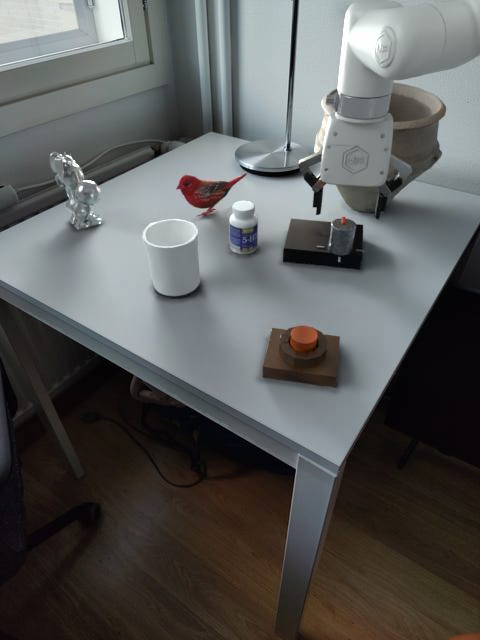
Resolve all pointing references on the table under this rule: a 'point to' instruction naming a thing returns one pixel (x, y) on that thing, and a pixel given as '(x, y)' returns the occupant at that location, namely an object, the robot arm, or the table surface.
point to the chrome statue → (76, 190)
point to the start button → (303, 339)
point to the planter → (398, 140)
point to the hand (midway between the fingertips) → (347, 213)
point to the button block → (302, 359)
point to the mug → (173, 257)
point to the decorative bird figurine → (205, 191)
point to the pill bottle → (243, 228)
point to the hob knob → (342, 236)
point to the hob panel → (319, 245)
